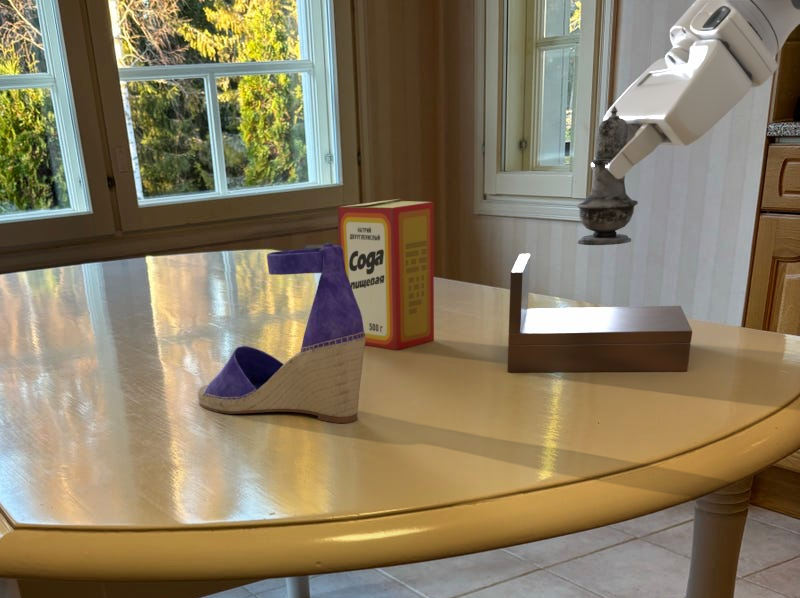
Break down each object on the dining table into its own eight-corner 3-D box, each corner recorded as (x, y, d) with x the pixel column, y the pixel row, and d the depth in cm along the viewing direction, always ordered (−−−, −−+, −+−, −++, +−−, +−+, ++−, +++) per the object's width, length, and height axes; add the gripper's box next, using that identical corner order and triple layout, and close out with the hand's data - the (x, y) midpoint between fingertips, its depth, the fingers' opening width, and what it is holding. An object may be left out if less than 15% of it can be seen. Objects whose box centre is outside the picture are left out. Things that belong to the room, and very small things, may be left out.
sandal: (244, 388, 100) (229, 237, 93) (381, 415, 87) (376, 243, 80) (184, 405, 95) (163, 247, 88) (319, 437, 82) (308, 255, 75)
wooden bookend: (676, 342, 106) (687, 247, 101) (687, 371, 94) (700, 266, 89) (516, 344, 110) (519, 254, 105) (507, 372, 98) (510, 272, 94)
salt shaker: (646, 239, 94) (660, 102, 88) (607, 246, 91) (618, 105, 85) (600, 237, 98) (610, 106, 92) (562, 243, 95) (569, 109, 89)
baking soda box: (433, 340, 115) (433, 198, 108) (396, 350, 112) (393, 204, 104) (380, 332, 122) (376, 198, 114) (344, 341, 118) (337, 203, 110)
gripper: (657, 32, 95) (556, 147, 99) (742, 9, 77) (613, 151, 81) (695, 79, 97) (594, 190, 101) (786, 68, 79) (659, 203, 84)
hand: (603, 173), depth 91 cm, fingers closed on salt shaker, 3 cm apart
